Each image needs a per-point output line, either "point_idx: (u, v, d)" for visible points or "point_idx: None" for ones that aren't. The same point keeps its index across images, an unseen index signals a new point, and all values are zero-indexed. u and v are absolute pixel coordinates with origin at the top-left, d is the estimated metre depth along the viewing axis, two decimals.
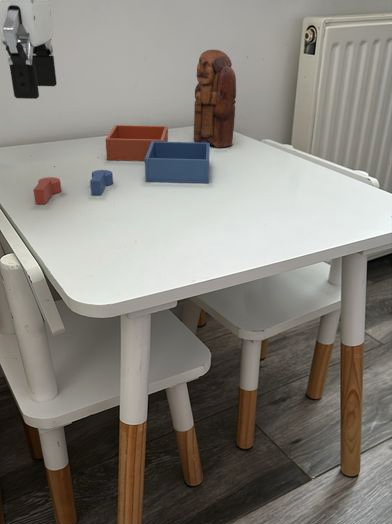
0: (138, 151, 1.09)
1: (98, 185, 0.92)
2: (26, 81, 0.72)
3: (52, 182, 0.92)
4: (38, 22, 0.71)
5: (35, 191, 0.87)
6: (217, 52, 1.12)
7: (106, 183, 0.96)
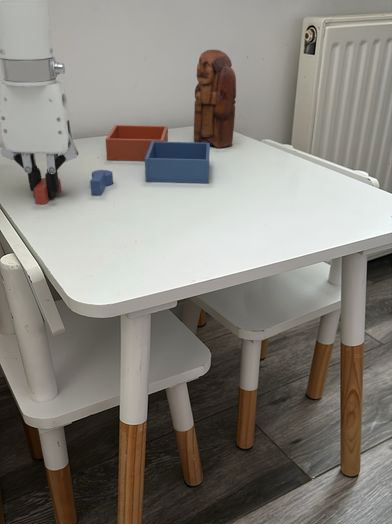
0: (138, 151, 1.09)
1: (98, 185, 0.92)
2: None
3: None
4: (12, 135, 0.84)
5: (35, 191, 0.87)
6: (217, 52, 1.12)
7: (106, 183, 0.96)
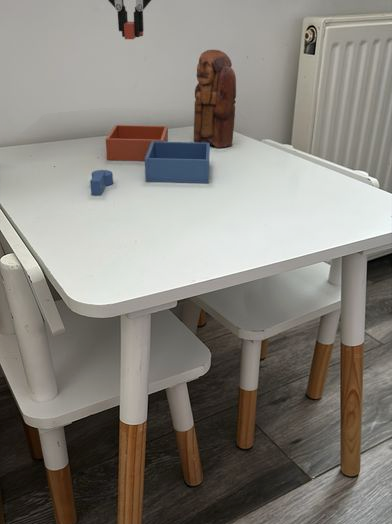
0: (138, 151, 1.09)
1: (98, 185, 0.92)
2: None
3: None
4: None
5: (125, 26, 0.98)
6: (217, 52, 1.12)
7: (106, 183, 0.96)
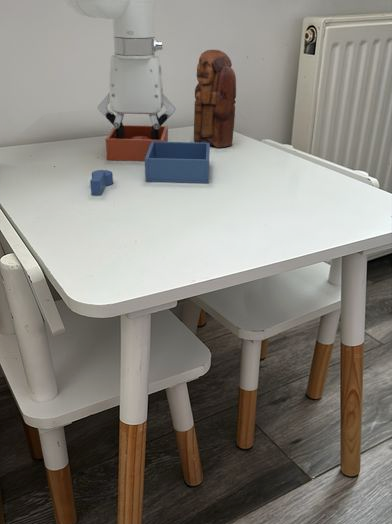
0: (138, 151, 1.09)
1: (98, 185, 0.92)
2: None
3: (143, 138, 1.15)
4: (118, 98, 1.07)
5: None
6: (217, 52, 1.12)
7: (106, 183, 0.96)
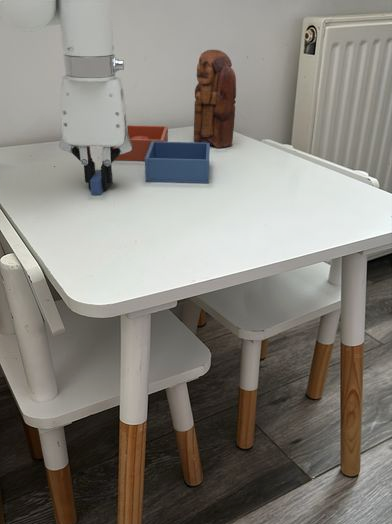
0: (138, 151, 1.09)
1: (98, 185, 0.92)
2: None
3: (143, 138, 1.15)
4: (72, 128, 0.88)
5: None
6: (217, 52, 1.12)
7: None
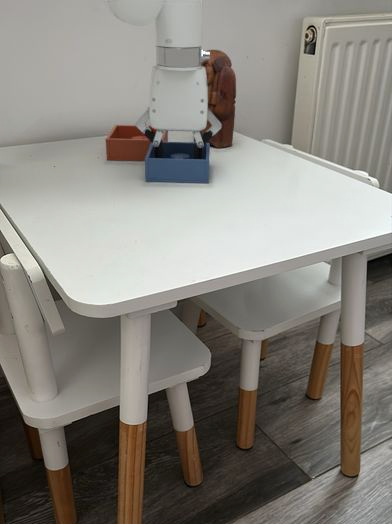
0: (138, 151, 1.09)
1: None
2: (155, 155, 1.01)
3: (143, 138, 1.15)
4: (160, 114, 0.96)
5: None
6: (217, 52, 1.12)
7: None
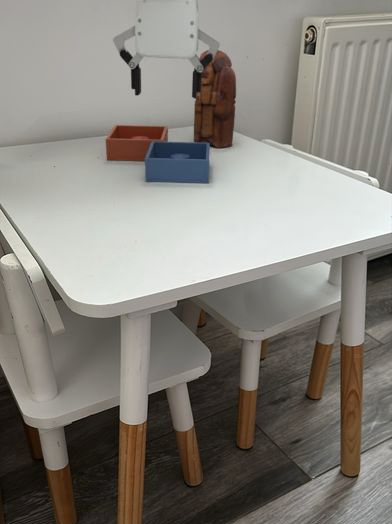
0: (138, 151, 1.09)
1: None
2: None
3: (143, 138, 1.15)
4: (146, 37, 0.88)
5: None
6: (217, 52, 1.12)
7: None
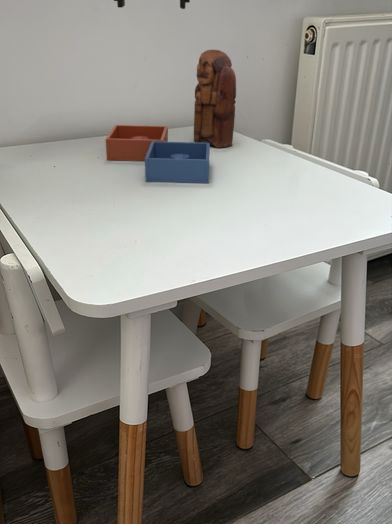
0: (138, 151, 1.09)
1: None
2: None
3: (143, 138, 1.15)
4: None
5: None
6: (217, 52, 1.12)
7: None
